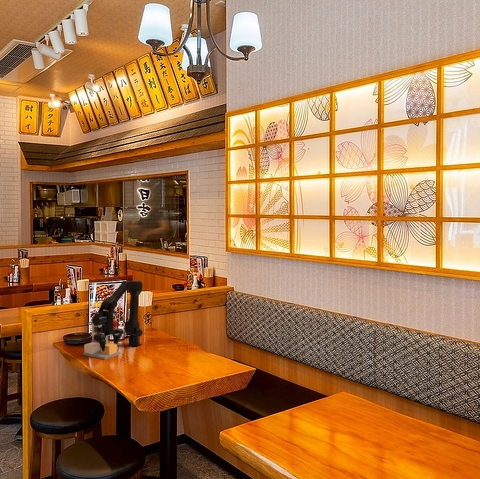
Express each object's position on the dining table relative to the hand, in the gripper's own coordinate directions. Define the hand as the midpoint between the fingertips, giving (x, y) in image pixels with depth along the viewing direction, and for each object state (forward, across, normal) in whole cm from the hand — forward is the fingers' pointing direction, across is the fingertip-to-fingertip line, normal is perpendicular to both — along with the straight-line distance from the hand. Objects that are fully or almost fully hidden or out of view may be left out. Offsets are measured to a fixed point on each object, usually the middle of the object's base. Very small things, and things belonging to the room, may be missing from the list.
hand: (109, 349), depth 286 cm
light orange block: (+2, 0, 0) cm, 2 cm away
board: (+3, +2, -4) cm, 5 cm away
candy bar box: (+4, -11, -19) cm, 22 cm away
